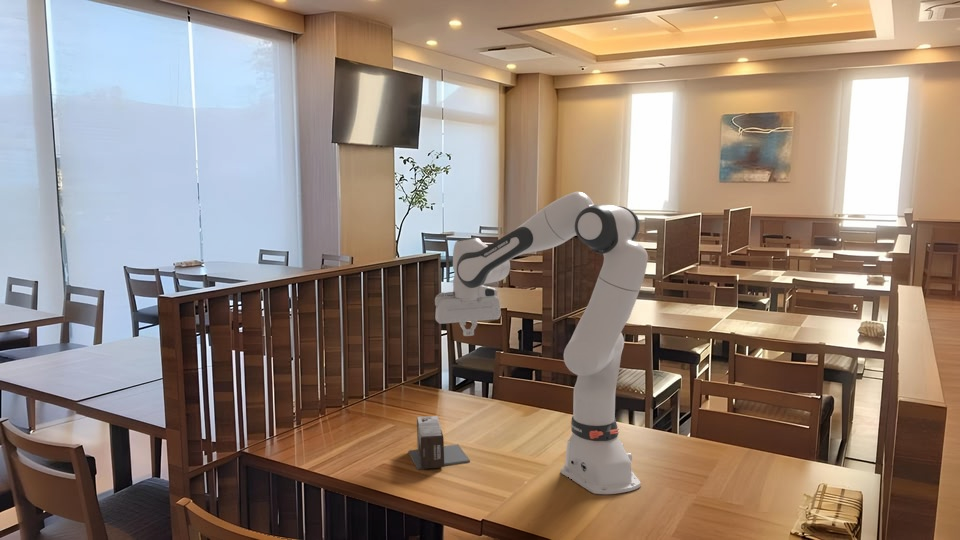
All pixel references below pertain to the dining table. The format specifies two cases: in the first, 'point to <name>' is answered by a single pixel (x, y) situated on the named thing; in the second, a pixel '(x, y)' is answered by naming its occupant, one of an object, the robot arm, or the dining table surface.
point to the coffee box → (430, 442)
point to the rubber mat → (451, 456)
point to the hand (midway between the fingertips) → (468, 335)
